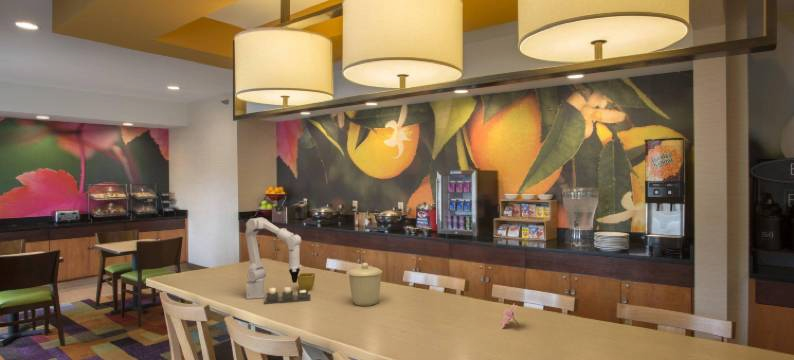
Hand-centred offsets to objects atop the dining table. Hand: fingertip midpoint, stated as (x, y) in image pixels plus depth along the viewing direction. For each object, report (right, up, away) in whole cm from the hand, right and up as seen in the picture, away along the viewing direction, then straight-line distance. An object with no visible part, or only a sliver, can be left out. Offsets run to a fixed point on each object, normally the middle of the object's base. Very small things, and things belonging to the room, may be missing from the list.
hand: (294, 282), depth 247 cm
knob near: (-11, -6, -2) cm, 13 cm away
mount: (-4, -9, -1) cm, 10 cm away
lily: (+104, -8, -51) cm, 116 cm away
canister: (+39, -9, -11) cm, 42 cm away
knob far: (+4, -8, +1) cm, 9 cm away
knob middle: (-4, -6, -1) cm, 7 cm away
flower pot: (+2, -9, +21) cm, 23 cm away
